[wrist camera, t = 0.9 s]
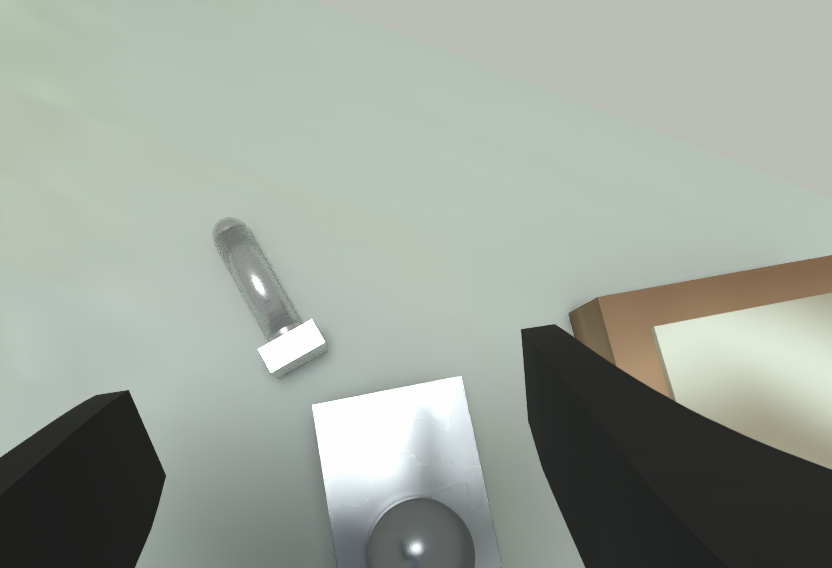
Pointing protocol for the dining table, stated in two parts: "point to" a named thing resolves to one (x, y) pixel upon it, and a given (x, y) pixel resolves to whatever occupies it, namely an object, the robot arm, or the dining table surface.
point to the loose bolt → (267, 301)
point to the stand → (731, 349)
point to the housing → (405, 480)
